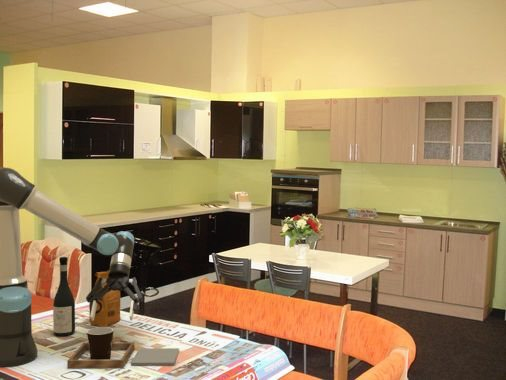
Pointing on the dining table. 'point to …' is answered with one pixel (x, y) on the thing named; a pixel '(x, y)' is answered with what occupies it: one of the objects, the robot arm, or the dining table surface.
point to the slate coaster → (155, 357)
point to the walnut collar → (105, 363)
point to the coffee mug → (100, 342)
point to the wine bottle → (63, 304)
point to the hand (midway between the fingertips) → (111, 318)
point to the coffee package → (106, 305)
